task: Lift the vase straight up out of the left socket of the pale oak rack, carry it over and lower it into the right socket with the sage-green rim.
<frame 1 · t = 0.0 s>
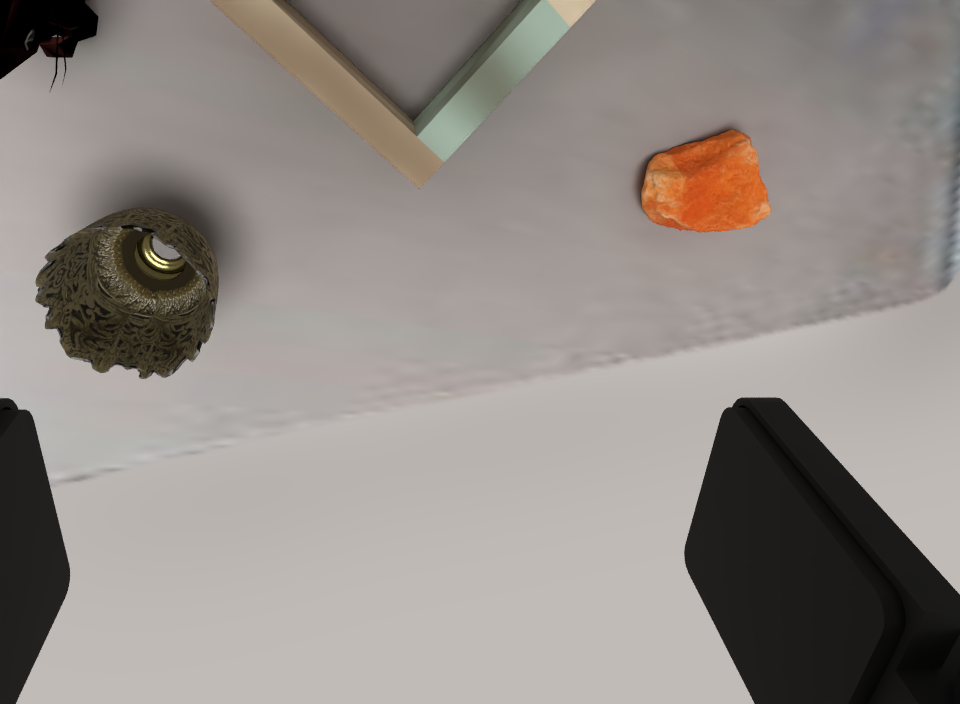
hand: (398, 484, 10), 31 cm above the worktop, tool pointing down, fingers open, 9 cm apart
cup: (168, 244, 40), on the worktop
rock: (690, 174, 43), on the worktop
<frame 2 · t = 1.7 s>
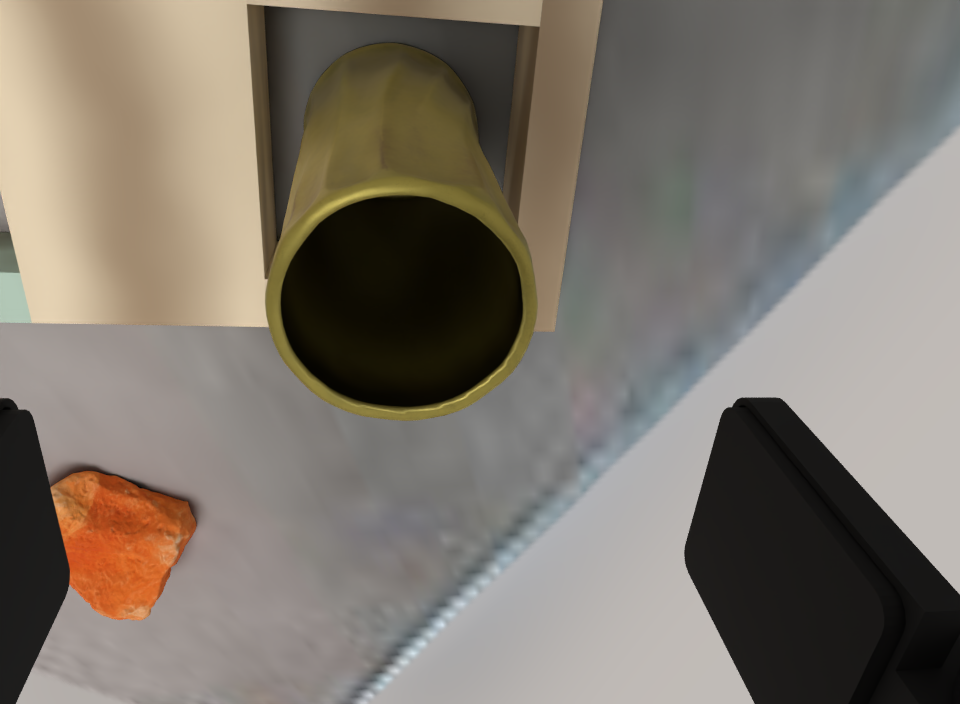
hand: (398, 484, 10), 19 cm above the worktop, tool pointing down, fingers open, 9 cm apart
rock: (129, 503, 34), on the worktop
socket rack: (155, 121, 25), on the worktop
vase: (391, 132, 27), resting in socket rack
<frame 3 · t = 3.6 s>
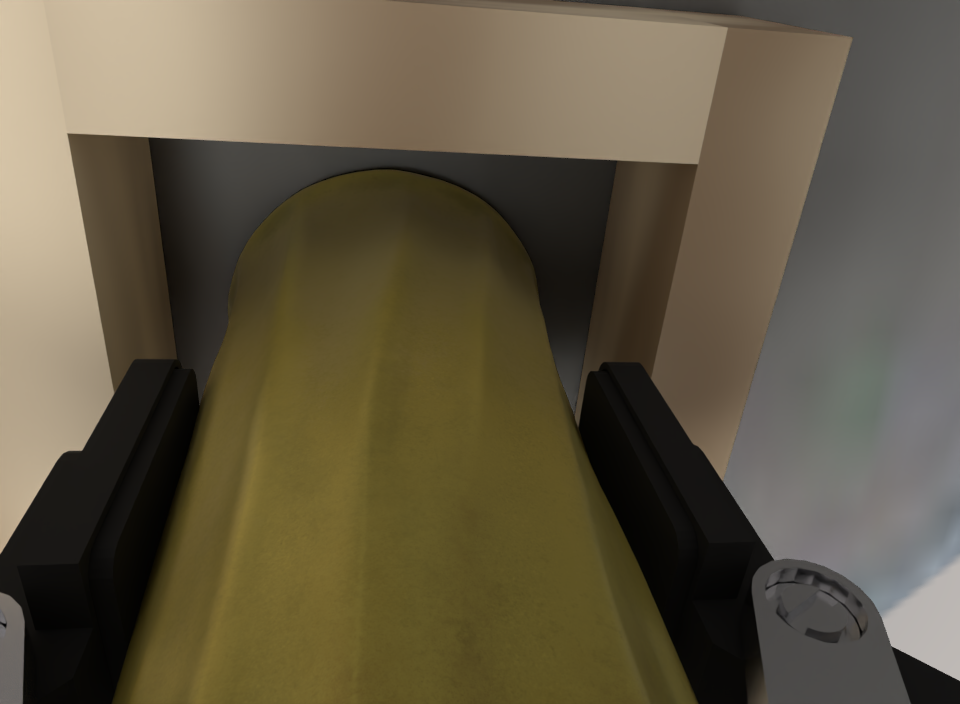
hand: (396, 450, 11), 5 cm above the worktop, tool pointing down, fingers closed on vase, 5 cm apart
vase: (387, 312, 15), resting in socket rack, touching gripper
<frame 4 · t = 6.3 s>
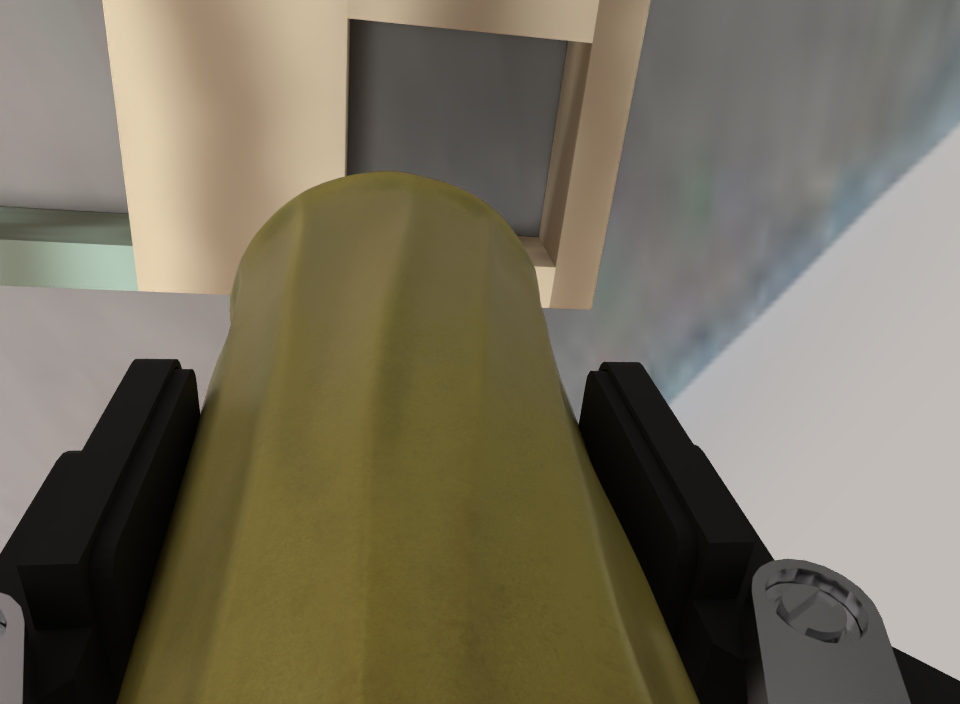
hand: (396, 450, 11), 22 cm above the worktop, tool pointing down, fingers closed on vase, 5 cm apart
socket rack: (248, 117, 29), on the worktop
vase: (389, 313, 15), point 17 cm above the worktop, touching gripper
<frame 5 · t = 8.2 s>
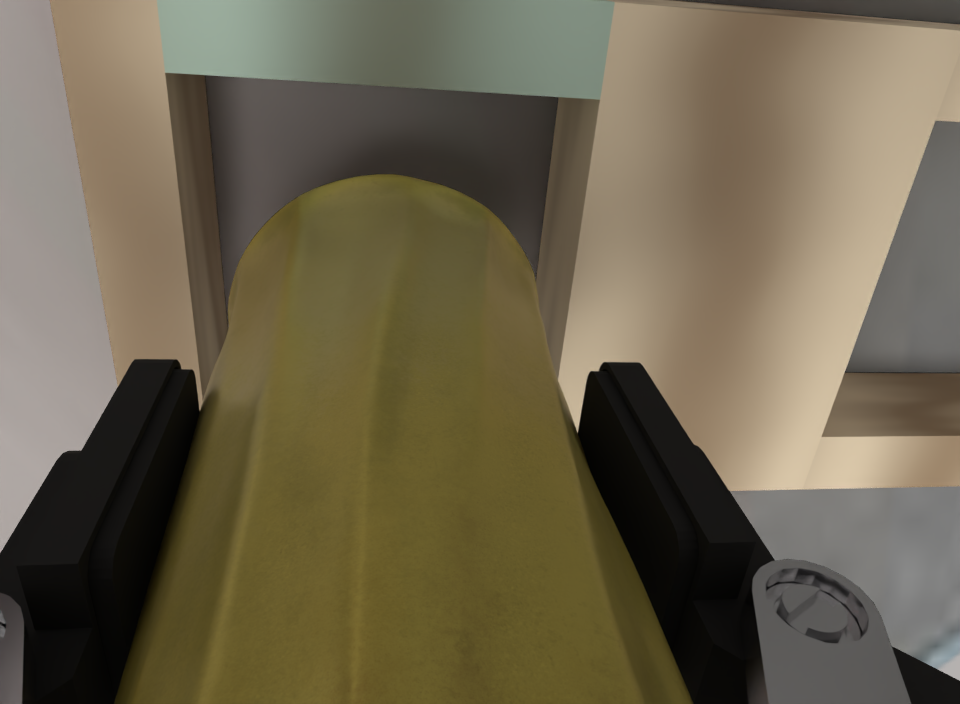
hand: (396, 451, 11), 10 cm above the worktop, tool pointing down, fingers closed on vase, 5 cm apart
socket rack: (674, 241, 21), on the worktop
vase: (387, 316, 15), point 5 cm above the worktop, touching gripper
when the fingers open (6 cm above the worktop, at t = 9.5 s): vase drops 1 cm, resting in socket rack.
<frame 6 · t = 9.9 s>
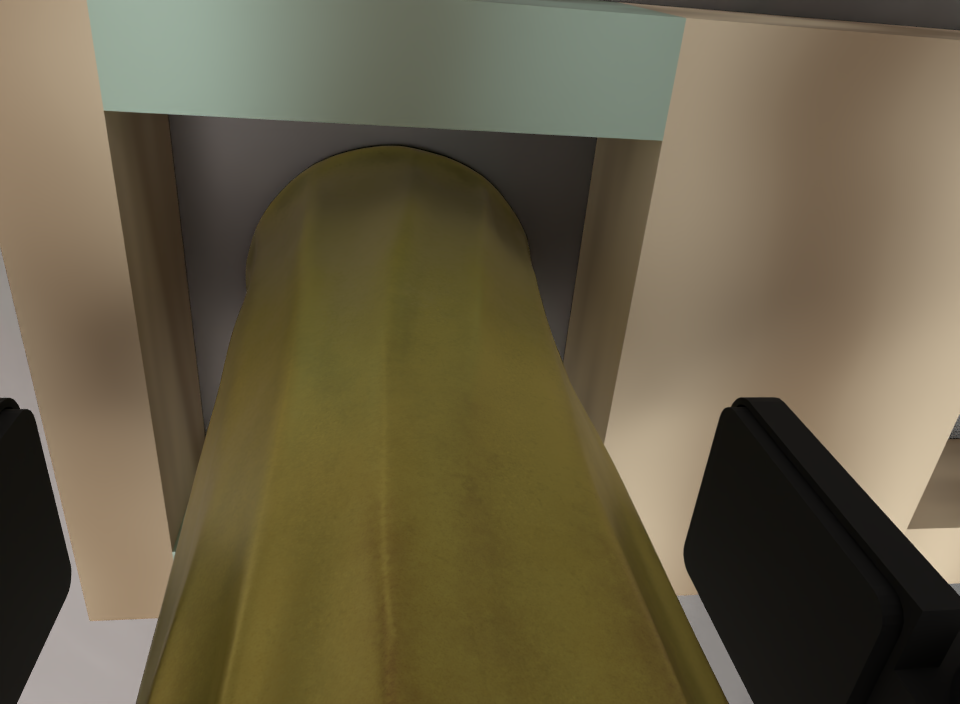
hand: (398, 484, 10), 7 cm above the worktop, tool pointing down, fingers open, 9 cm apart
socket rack: (730, 295, 17), on the worktop
vase: (392, 280, 16), resting in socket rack
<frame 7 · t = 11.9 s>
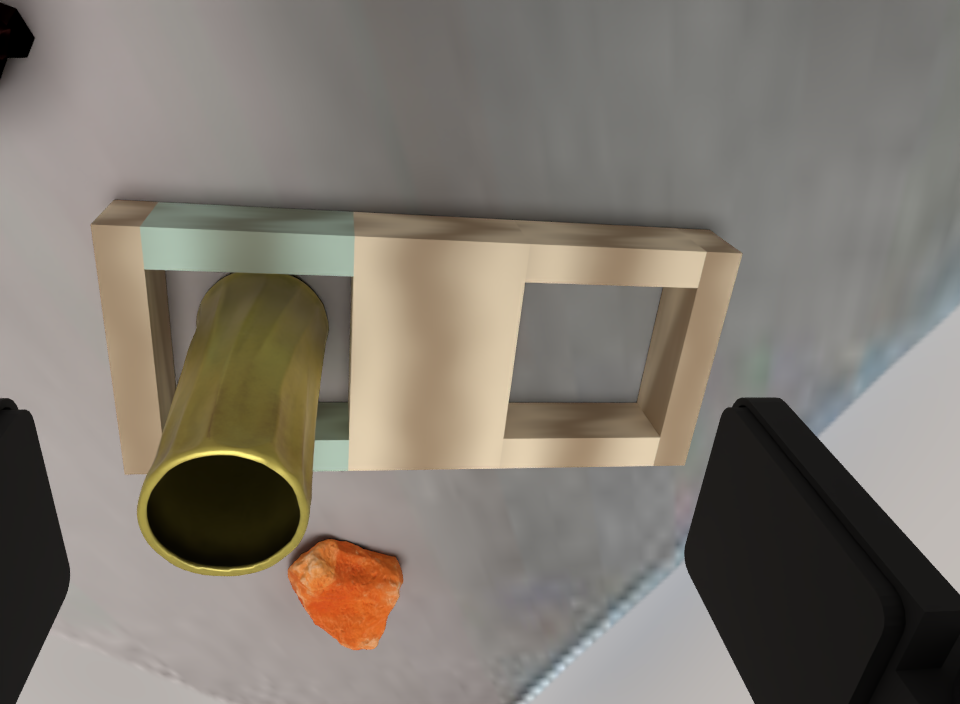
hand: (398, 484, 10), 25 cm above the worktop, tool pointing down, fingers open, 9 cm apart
rock: (346, 561, 45), on the worktop
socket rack: (426, 331, 37), on the worktop
vase: (264, 324, 36), resting in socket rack
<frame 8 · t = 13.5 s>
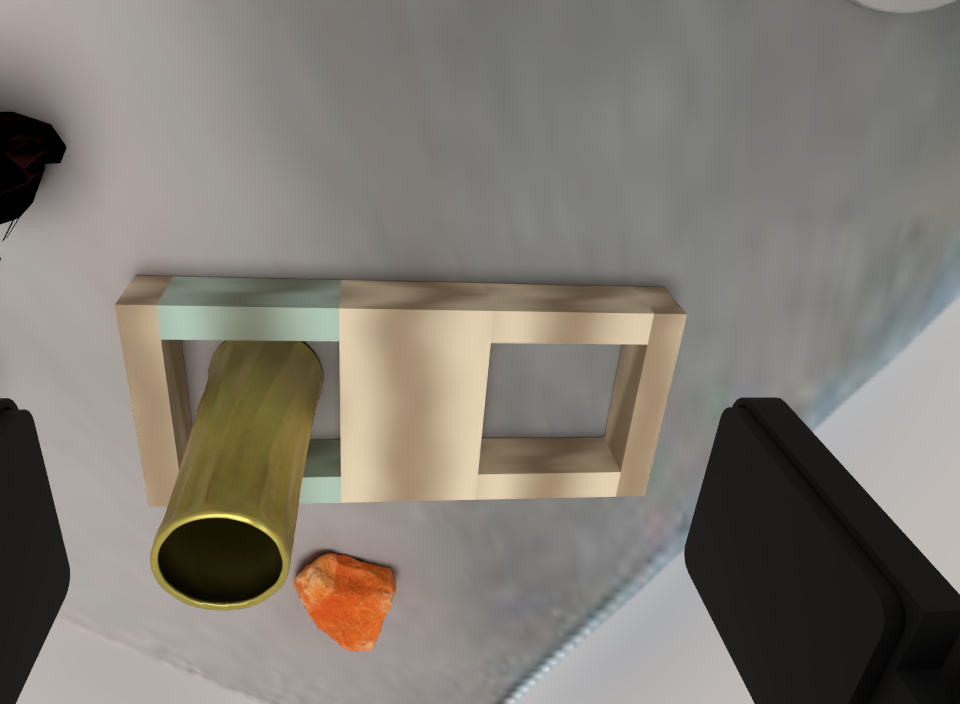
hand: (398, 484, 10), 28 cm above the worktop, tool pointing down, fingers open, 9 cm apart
rock: (347, 571, 50), on the worktop
cat figurine: (3, 149, 34), on the worktop
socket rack: (410, 378, 42), on the worktop
vase: (267, 374, 41), resting in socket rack
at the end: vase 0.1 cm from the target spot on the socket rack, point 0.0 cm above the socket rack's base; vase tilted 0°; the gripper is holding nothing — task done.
